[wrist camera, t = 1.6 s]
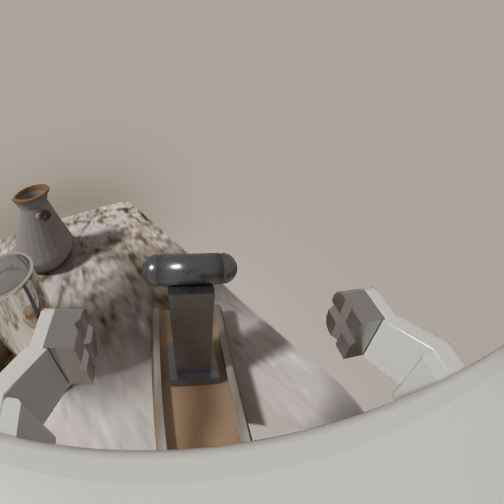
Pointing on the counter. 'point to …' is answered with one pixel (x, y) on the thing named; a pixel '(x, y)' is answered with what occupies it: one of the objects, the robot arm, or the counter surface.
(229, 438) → the track
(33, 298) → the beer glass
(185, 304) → the handle
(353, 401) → the counter surface
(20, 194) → the coffee pot
